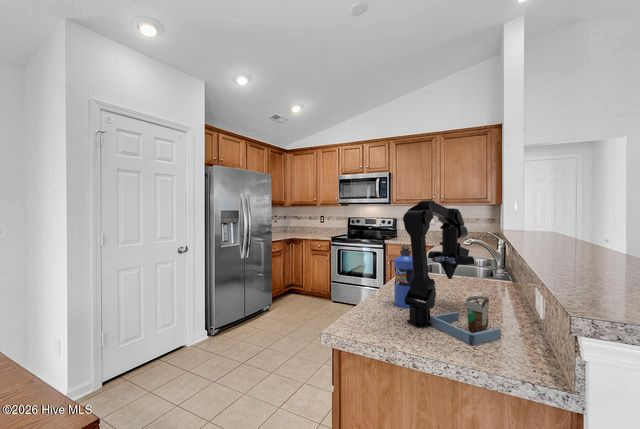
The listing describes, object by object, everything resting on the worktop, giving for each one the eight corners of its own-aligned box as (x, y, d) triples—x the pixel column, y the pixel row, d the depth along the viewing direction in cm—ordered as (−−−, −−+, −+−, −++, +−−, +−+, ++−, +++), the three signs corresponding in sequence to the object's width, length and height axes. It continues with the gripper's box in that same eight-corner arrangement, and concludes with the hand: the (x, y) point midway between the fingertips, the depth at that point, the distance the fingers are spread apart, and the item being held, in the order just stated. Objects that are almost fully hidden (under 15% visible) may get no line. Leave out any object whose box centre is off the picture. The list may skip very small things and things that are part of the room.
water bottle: (409, 309, 118) (408, 247, 118) (389, 304, 126) (389, 245, 125) (421, 304, 125) (421, 245, 124) (402, 299, 132) (402, 243, 131)
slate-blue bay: (472, 345, 87) (472, 335, 87) (430, 325, 103) (430, 316, 103) (500, 338, 91) (500, 328, 91) (456, 319, 107) (456, 311, 107)
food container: (469, 321, 106) (469, 293, 106) (489, 325, 102) (489, 296, 102) (460, 333, 96) (460, 302, 96) (481, 338, 92) (481, 305, 92)
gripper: (484, 241, 114) (485, 282, 114) (447, 237, 131) (447, 272, 131) (463, 242, 110) (463, 284, 110) (427, 238, 127) (427, 274, 127)
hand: (449, 278), depth 120 cm, fingers closed
